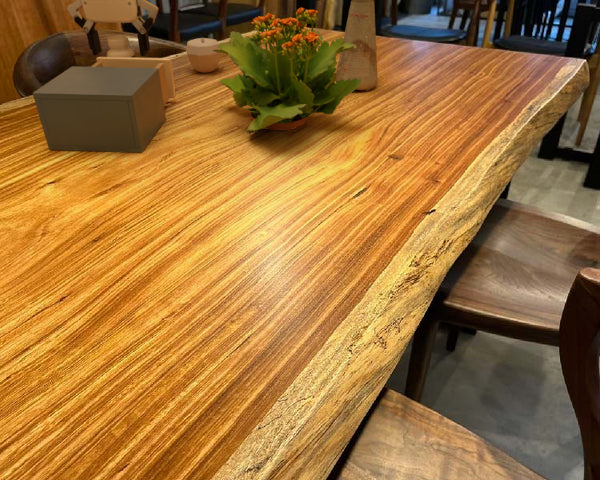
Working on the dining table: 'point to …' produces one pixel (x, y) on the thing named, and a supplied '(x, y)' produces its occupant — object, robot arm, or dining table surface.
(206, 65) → the lidded pot
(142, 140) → the dark grey box
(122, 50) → the pill bottle
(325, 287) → the dining table surface
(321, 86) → the potted flower
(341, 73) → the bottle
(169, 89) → the drawer
